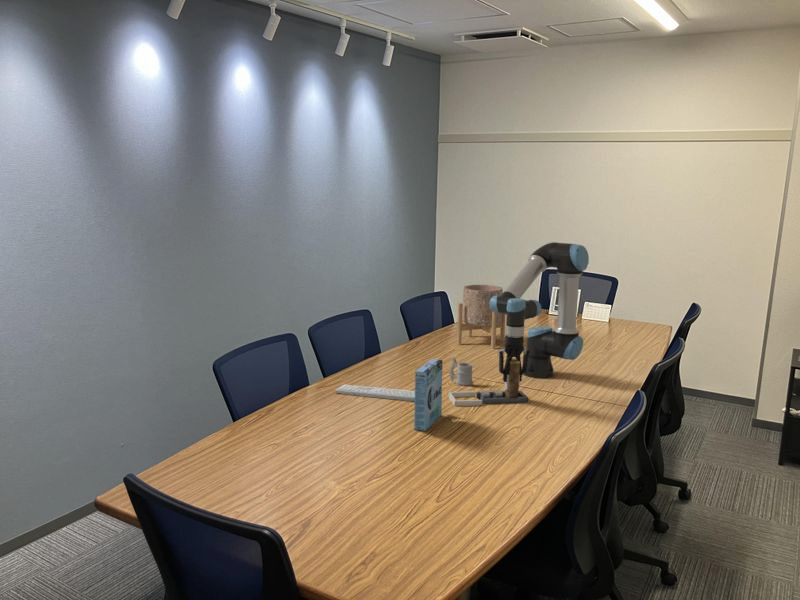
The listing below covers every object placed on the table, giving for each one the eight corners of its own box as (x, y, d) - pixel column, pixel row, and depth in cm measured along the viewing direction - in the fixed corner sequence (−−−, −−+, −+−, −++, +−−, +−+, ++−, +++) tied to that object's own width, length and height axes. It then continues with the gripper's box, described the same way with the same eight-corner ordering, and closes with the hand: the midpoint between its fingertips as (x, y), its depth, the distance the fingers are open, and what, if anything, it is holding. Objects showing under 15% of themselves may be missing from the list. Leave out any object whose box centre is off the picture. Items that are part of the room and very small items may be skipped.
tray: (474, 397, 289) (474, 391, 288) (481, 407, 277) (482, 400, 276) (448, 398, 287) (448, 392, 286) (454, 408, 275) (455, 401, 275)
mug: (467, 389, 301) (468, 363, 298) (445, 384, 307) (445, 358, 305) (475, 384, 307) (476, 359, 304) (453, 380, 313) (454, 355, 311)
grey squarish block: (487, 398, 285) (487, 390, 285) (489, 401, 281) (490, 393, 281) (480, 398, 285) (480, 390, 284) (482, 401, 281) (483, 393, 280)
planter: (494, 349, 371) (496, 292, 365) (456, 344, 380) (457, 289, 374) (505, 340, 391) (507, 286, 385) (468, 336, 400) (469, 283, 394)
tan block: (514, 395, 288) (516, 358, 284) (517, 399, 283) (519, 361, 280) (505, 396, 287) (507, 358, 284) (508, 400, 282) (510, 361, 279)
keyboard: (439, 395, 292) (439, 390, 292) (433, 404, 281) (433, 399, 280) (343, 386, 303) (343, 381, 303) (334, 394, 292) (334, 389, 291)
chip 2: (499, 397, 286) (499, 390, 286) (502, 401, 282) (502, 393, 282) (492, 398, 286) (493, 390, 285) (495, 401, 282) (495, 393, 281)
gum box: (425, 431, 250) (427, 372, 246) (413, 429, 252) (414, 371, 247) (442, 414, 268) (443, 359, 263) (430, 413, 269) (431, 358, 265)
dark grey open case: (520, 397, 291) (521, 390, 290) (528, 404, 281) (528, 397, 281) (476, 398, 288) (476, 392, 287) (482, 406, 278) (482, 399, 278)
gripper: (531, 332, 285) (528, 385, 289) (492, 333, 282) (490, 386, 286) (537, 337, 277) (534, 390, 282) (497, 337, 275) (495, 392, 279)
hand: (511, 388), depth 284 cm, fingers closed on tan block, 4 cm apart
